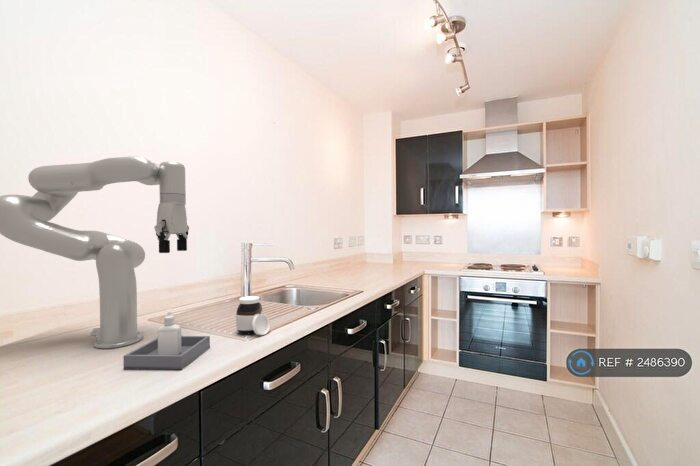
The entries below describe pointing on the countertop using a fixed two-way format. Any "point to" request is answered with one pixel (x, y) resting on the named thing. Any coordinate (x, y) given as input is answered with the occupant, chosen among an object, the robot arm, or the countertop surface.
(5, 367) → the countertop surface
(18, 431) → the countertop surface
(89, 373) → the countertop surface
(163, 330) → the eye dropper bottle
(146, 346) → the dish
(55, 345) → the countertop surface
